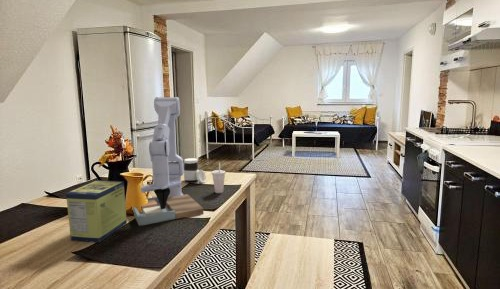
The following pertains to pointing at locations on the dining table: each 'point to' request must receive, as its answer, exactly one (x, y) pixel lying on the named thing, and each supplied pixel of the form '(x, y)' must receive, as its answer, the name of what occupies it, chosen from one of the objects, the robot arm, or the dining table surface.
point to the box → (153, 215)
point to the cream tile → (152, 210)
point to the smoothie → (218, 180)
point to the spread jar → (193, 171)
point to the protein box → (96, 210)
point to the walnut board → (183, 206)
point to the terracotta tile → (149, 204)
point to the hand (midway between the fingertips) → (162, 208)
